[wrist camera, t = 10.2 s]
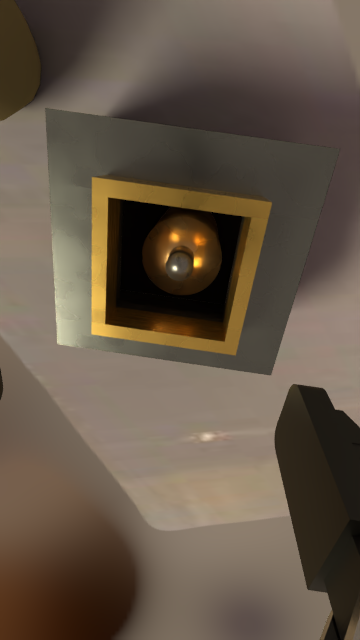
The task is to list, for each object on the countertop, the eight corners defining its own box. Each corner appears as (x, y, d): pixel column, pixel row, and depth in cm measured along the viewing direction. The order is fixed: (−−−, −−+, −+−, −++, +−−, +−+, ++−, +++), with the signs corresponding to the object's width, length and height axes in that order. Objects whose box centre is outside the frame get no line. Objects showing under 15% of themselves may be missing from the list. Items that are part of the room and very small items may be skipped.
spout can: (161, 197, 27) (138, 216, 18) (222, 206, 27) (231, 229, 18) (155, 257, 29) (133, 301, 20) (212, 265, 29) (214, 313, 20)
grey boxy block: (98, 124, 25) (19, 100, 14) (296, 152, 24) (361, 147, 14) (96, 295, 31) (41, 364, 21) (254, 318, 31) (277, 399, 20)
